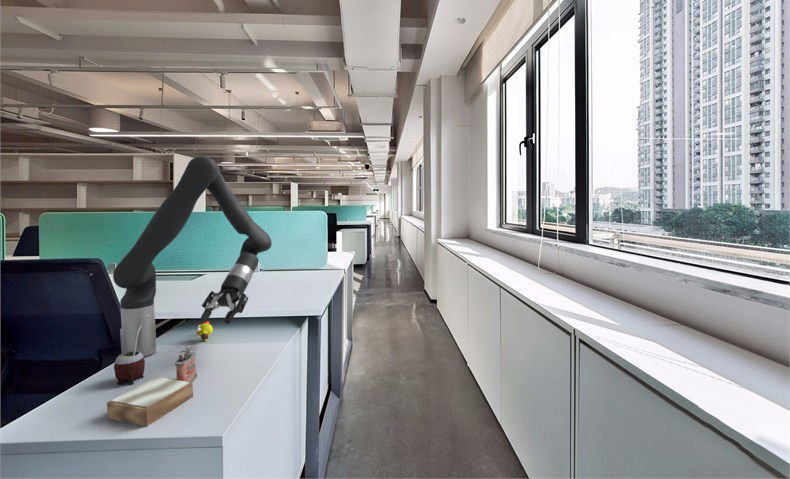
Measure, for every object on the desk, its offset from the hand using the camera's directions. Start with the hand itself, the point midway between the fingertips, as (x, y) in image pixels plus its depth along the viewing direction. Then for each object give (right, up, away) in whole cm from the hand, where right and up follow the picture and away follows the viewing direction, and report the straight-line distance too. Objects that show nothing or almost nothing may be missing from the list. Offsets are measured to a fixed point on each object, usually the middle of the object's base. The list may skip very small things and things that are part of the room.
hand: (214, 322), depth 109 cm
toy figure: (-15, -13, +22) cm, 30 cm away
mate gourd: (-20, -15, -8) cm, 27 cm away
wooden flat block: (-4, -16, -22) cm, 28 cm away
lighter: (-3, -15, -10) cm, 18 cm away
